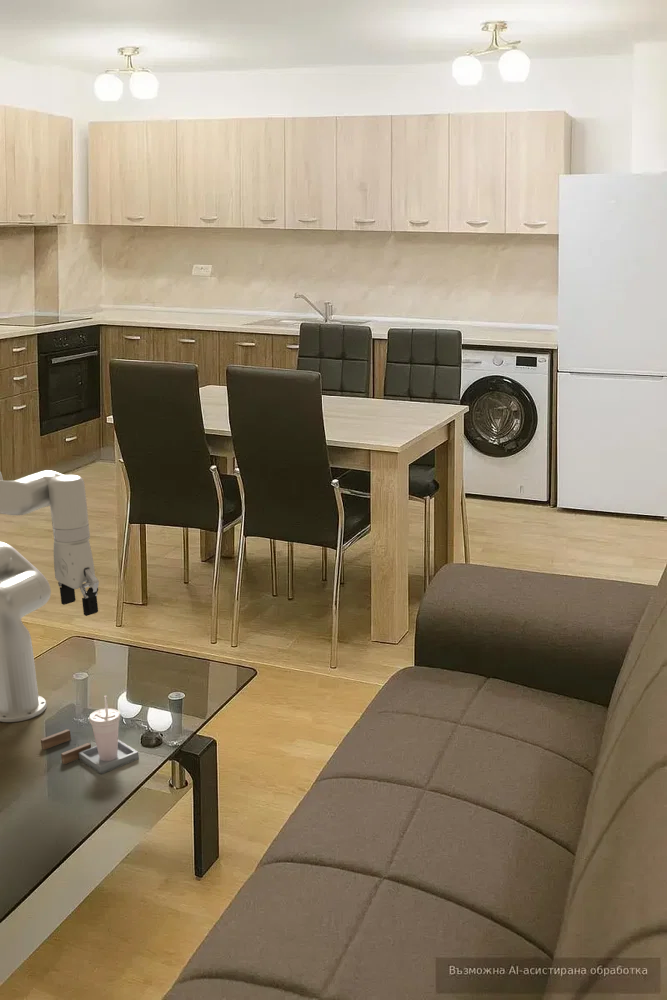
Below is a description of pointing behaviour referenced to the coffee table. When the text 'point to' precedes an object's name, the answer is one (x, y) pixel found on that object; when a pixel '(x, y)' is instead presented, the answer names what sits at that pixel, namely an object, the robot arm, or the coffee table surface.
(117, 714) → the smoothie
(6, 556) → the robot arm
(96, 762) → the tray
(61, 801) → the coffee table surface
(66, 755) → the brown parallel rails
